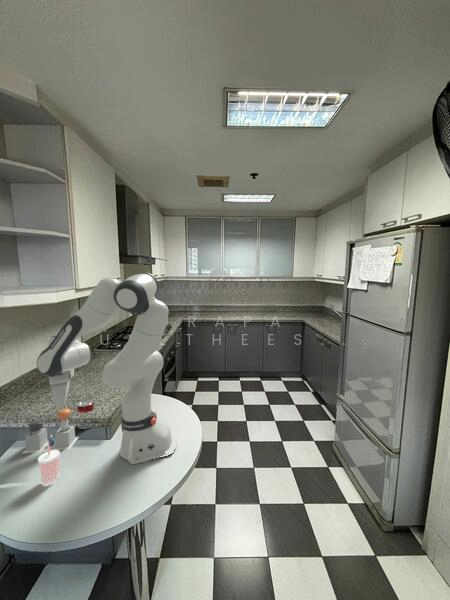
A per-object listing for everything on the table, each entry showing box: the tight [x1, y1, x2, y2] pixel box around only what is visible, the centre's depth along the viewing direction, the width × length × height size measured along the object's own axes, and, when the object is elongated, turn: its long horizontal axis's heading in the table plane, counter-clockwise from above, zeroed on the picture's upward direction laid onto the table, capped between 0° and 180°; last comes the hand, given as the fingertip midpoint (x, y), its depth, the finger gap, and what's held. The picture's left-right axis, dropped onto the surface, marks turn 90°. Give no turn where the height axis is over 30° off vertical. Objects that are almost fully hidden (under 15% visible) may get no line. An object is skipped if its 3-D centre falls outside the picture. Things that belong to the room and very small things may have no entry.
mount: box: [20, 425, 80, 455], centre depth 102 cm, size 18×8×7 cm, turn 98°
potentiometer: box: [47, 434, 55, 447], centre depth 102 cm, size 2×2×4 cm
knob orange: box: [56, 408, 71, 432], centre depth 103 cm, size 5×5×9 cm
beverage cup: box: [37, 441, 61, 487], centre depth 84 cm, size 6×6×14 cm
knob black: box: [28, 419, 44, 435], centre depth 101 cm, size 5×5×9 cm
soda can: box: [76, 399, 95, 414], centre depth 116 cm, size 7×7×12 cm
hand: (63, 405), depth 103 cm, fingers closed
